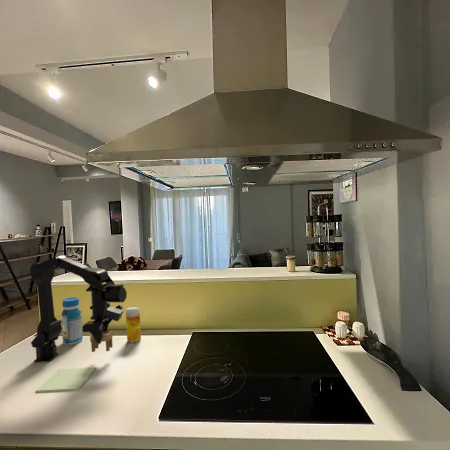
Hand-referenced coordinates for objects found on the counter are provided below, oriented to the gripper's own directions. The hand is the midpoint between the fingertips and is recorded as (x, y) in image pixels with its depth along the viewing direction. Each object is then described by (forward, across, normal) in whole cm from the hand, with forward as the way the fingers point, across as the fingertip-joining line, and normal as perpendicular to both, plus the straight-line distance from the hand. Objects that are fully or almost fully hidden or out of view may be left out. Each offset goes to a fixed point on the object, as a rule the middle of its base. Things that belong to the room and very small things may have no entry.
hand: (101, 341), depth 118 cm
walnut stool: (+3, 0, 0) cm, 3 cm away
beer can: (+8, +19, -7) cm, 22 cm away
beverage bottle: (+8, +21, +22) cm, 32 cm away
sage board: (+8, -13, +7) cm, 17 cm away
